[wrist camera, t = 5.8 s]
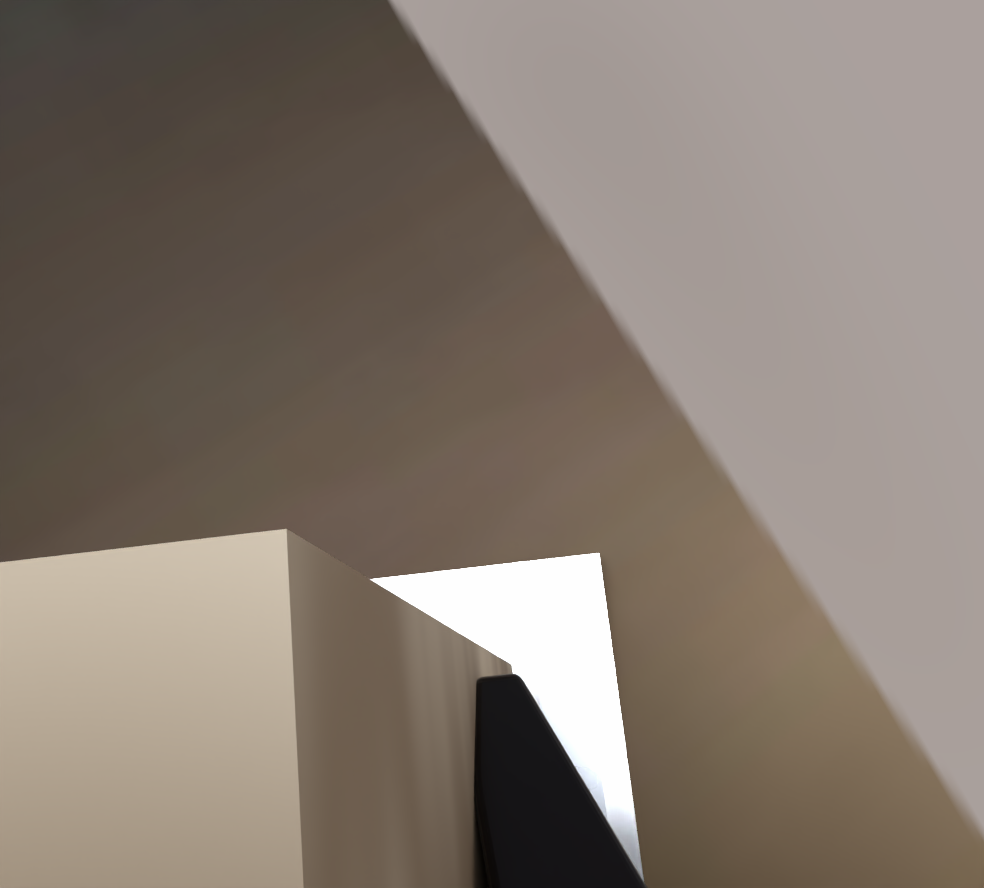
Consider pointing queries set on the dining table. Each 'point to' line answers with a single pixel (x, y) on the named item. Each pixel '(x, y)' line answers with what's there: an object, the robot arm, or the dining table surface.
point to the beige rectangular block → (232, 723)
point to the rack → (547, 657)
